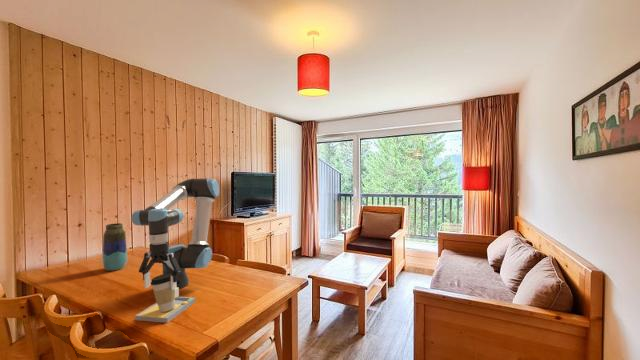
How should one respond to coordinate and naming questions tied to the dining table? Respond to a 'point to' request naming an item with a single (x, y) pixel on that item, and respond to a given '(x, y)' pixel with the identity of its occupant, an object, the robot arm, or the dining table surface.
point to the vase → (114, 247)
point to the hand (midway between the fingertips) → (160, 288)
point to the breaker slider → (176, 292)
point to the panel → (157, 316)
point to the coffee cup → (163, 292)
